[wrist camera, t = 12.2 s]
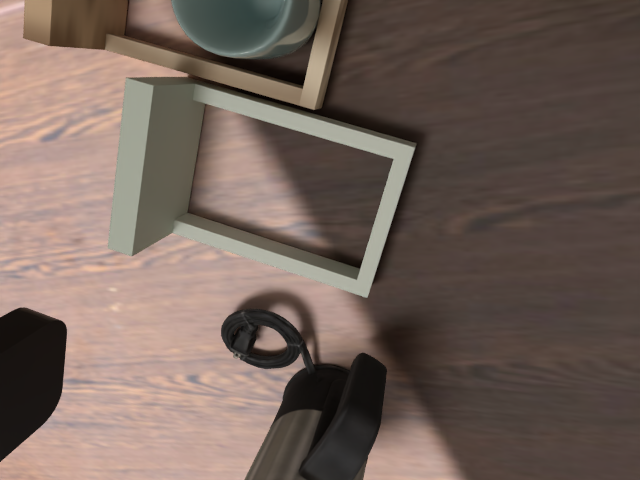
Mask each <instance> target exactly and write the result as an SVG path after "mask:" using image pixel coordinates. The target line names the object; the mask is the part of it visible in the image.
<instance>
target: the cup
mask: <svg viewBox="0 0 640 480" xmlns="http://www.w3.org/2000/svg"><path fill="white" fill-rule="evenodd" d="M171 2H172V6H173V11H174V13H175V16H176V18H177V20H178V23H179V25H180V26H181V28H182V29H183V31H184V32H185V34H186V35H187V36H188V37H189V38H190V39H191V40H192V41H193V42H194V43H195V44H197V45H199V46H200V47H202V48H203V49H205V50H207V51H209V52H212V53H214V54H217V55H220V56H225V57H231V58H237V59H252V60H256V59H274V58H278V57H283V56H286V55H289V54H291V53H293V52H295V51H297V50H298V49H300V48H301V47H302V46H304V45H305V44H306V43H307V41H308V40H309V39H310V38H311V36H312V35H313V33H314V31H315V29H316V27H317V23H318V20H319V16H320V10H321V0H171Z"/></svg>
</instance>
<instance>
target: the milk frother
mask: <svg viewBox="0 0 640 480" xmlns="http://www.w3.org/2000/svg"><path fill="white" fill-rule="evenodd" d="M258 325H264V326H267V327H270V328H273V329H275V330H276V331H278V332H279V333H280V334H281V335H282V337H283V338H284V339H285V341H286V343H287V346H288V349H287V350H286V351H285V352H284V353H282V354H280V355H276V356H261V355H257V354H254V353H251V350H252V348H253V346H254V344H255V341H256V337H257V336H256V332H257V330H258ZM238 327H241V328H239V329H238V331H237V332H236V334H235V335H234V332H235V330H236V329H237V328H238ZM221 336H222V339H223V341H224V343H225V344H226V346H227V348H228V349H229V350H230V351H231V352H233V353H234V355H233V357H234V358H235V359H238V357H239V358H240V360H243V361H245V362H246V363H248V364H250V365H253V366H256V367H259V368H264V369H271V368H282V367H286V366H288V365H290V364H292V363H293V362H294V361H295V360H296V359H297V358H298V356H299V354H300V353H301V355H302V357H303V361H304V364H305V366H306V369H304V370H302V371H300V372H298V373H297V374H296V375H295V376H294V377H293V378H292V379H291V380H290V381H289V382H288V384H287V386H286V388H285V391H284V395H283V401H282V404H281V406H280V408H279V410H278V413H277V415H276V417H275V419H274V422H273V424H272V425H271V427H270V430H269V432H268V434H267V436H266V438H265V440H264V442H263V444H262V446H261V448H260V450H259V452H258V454H257V456H256V458H255V460H254V462H253V464H252V466H251V468H250V470H249V472H248V474H247V476H246V478H245V480H363V477H364V472H365V467H366V463H367V459H368V455H369V453H370V451H371V449H372V446H373V444H374V442H375V439H376V437H377V434H378V431H379V427H380V423H381V415H382V406H383V399H384V390H385V383H386V373H387V369H386V367H385V366H384V365H383V364H382V363H380V362H379V361H378V360H376V359H375V358H373V357H371V356H370V355H368V354H365V353H360V354H359V355H358V356H357V357H356V358H355V359H354V361H353V363H352V365H351V369H350V371H348V370H346V369H343V368H340V367H336V366H331V365H317V366H314V365H313V362H312V359H311V356H310V354H309V351H308V349H307V347H306V344H305V343H304V341H303V339H302V337H301V335H300V333H299V332H298V330H297V329H296V328H295V327H294V326H293V325H292V324H291V323H290V322H289V321H287V320H286V319H285V318H283V317H281V316H280V315H278V314H275V313H273V312H270V311H266V310H262V309H246V310H240V311H237V312H234V313H232V314H231V315H229V316H228V317H227V318H226V320H225V321H224V323H223V325H222V328H221Z"/></svg>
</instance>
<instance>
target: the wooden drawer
mask: <svg viewBox="0 0 640 480" xmlns="http://www.w3.org/2000/svg"><path fill="white" fill-rule="evenodd" d="M347 3H348V0H323V3H322V7H321V12H320V16H319V20H318V25H317V29H316V34H315V38H314V42H313V47H312V51H311V55H310V60H309V64H308V69H307V73H306V77H305V82H304V86H302V85H298V84H295V83H291V82H287V81H284V80H280V79H277V78H273V77H270V76H266V75H263V74H259V73H255V72H252V71H248V70H245V69H241V68H238V67H234V66H231V65H227V64H223V63H220V62H216V61H213V60H209V59H206V58H202V57H199V56H195V55H191V54H188V53H184V52H181V51H177V50H174V49H170V48H167V47H163V46H159V45H156V44H152V43H149V42H145V41H142V40H138V39H135V38H131V37H127V36H124V34H125V25H126V15H127V6H128V0H25V8H24V34H23V38H24V39H28V40H31V41H35V42H38V43H41V44H45V45H48V46H59V47H73V48H87V49H102V50H108V51H111V52H114V53H118V54H121V55H125V56H128V57H132V58H135V59H139V60H142V61H146V62H149V63H153V64H156V65H160V66H163V67H167V68H170V69H174V70H177V71H181V72H184V73H188V74H191V75H195V76H198V77H202V78H205V79H209V80H212V81H216V82H219V83H223V84H226V85H229V86H233V87H236V88H240V89H243V90H247V91H250V92H254V93H257V94H261V95H264V96H268V97H271V98H275V99H278V100H282V101H285V102H289V103H292V104H296V105H299V106H303V107H306V108H310V109H313V110H316V109H319V108H322V105H323V101H324V97H325V93H326V89H327V85H328V80H329V76H330V72H331V68H332V64H333V60H334V56H335V52H336V48H337V44H338V40H339V35H340V31H341V27H342V23H343V19H344V15H345V11H346V7H347Z"/></svg>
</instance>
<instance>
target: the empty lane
mask: <svg viewBox="0 0 640 480" xmlns="http://www.w3.org/2000/svg"><path fill="white" fill-rule="evenodd" d="M205 104H208V105H212V106H215V107H219V108H222V109H225V110H229V111H232V112H236V113H239V114H242V115H246V116H249V117H253V118H256V119H259V120H263V121H266V122H270V123H273V124H276V125H280V126H283V127H287V128H290V129H293V130H297V131H300V132H304V133H307V134H310V135H314V136H317V137H321V138H324V139H327V140H331V141H334V142H338V143H341V144H344V145H348V146H351V147H355V148H358V149H361V150H365V151H368V152H372V153H375V154H378V155H382V156H385V157H389V158H392V159H394V160H393V163H392V167H391V170H390V173H389V177H388V180H387V183H386V186H385V190H384V193H383V196H382V200H381V203H380V206H379V209H378V213H377V216H376V219H375V223H374V226H373V229H372V232H371V236H370V239H369V242H368V245H367V249H366V252H365V255H364V259H363V262H362V265H361V268H360V269H359V268H356V267H353V266H350V265H347V264H344V263H341V262H337V261H334V260H331V259H328V258H325V257H322V256H319V255H316V254H313V253H310V252H307V251H304V250H301V249H298V248H294V247H291V246H288V245H285V244H282V243H279V242H276V241H273V240H270V239H267V238H264V237H261V236H258V235H255V234H251V233H248V232H245V231H242V230H239V229H236V228H233V227H230V226H227V225H224V224H221V223H218V222H215V221H212V220H208V219H205V218H202V217H199V216H196V215H193V214H190V213H187V212H188V206H189V200H190V194H191V188H192V182H193V175H194V169H195V163H196V157H197V151H198V145H199V139H200V133H201V127H202V121H203V115H204V108H205ZM416 144H417V143H414V142H410V141H407V140H403V139H400V138H396V137H393V136H389V135H386V134H382V133H379V132H375V131H372V130H368V129H365V128H361V127H358V126H354V125H351V124H348V123H344V122H341V121H337V120H334V119H330V118H327V117H323V116H320V115H316V114H313V113H309V112H306V111H302V110H299V109H295V108H292V107H289V106H285V105H282V104H278V103H275V102H271V101H268V100H264V99H261V98H257V97H254V96H250V95H247V94H243V93H240V92H236V91H233V90H229V89H226V88H223V87H219V86H216V85H212V84H209V83H205V82H202V81H198V80H195V79H191V78H188V77H142V78H126V82H125V92H124V101H123V110H122V119H121V129H120V138H119V147H118V156H117V166H116V175H115V184H114V193H113V203H112V212H111V221H110V230H109V240H108V248H109V249H112V250H115V251H118V252H120V253H123V254H126V255H129V256H133V255H135V254H137V253H139V252H140V251H142V250H144V249H145V248H147V247H149V246H151V245H152V244H154V243H156V242H157V241H159V240H161V239H162V238H164V237H166V236H168V235H169V234H171V233H174V234H177V235H180V236H183V237H186V238H189V239H192V240H195V241H198V242H201V243H204V244H207V245H210V246H213V247H216V248H219V249H222V250H225V251H228V252H231V253H234V254H237V255H240V256H243V257H246V258H249V259H252V260H255V261H258V262H261V263H264V264H267V265H270V266H273V267H276V268H279V269H282V270H285V271H288V272H291V273H294V274H297V275H300V276H303V277H306V278H309V279H312V280H315V281H318V282H321V283H324V284H327V285H330V286H333V287H336V288H339V289H342V290H345V291H348V292H351V293H354V294H357V295H360V296H363V297H366V298H367V297H368V294H369V291H370V289H371V286H372V282H373V279H374V276H375V273H376V270H377V267H378V264H379V260H380V257H381V254H382V251H383V248H384V245H385V242H386V238H387V235H388V232H389V229H390V226H391V223H392V219H393V216H394V213H395V210H396V207H397V204H398V201H399V197H400V194H401V191H402V188H403V185H404V182H405V179H406V175H407V172H408V169H409V166H410V163H411V160H412V157H413V153H414V150H415V147H416Z"/></svg>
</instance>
